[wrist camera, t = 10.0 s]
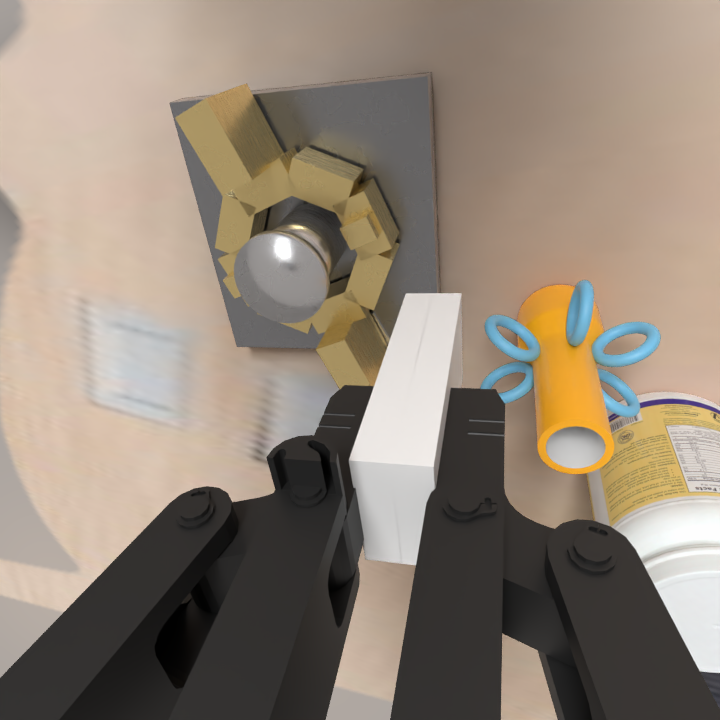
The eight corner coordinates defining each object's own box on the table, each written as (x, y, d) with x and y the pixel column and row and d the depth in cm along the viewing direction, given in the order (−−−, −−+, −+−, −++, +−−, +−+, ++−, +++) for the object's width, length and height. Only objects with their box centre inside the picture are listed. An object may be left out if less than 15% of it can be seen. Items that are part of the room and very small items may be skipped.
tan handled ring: (165, 134, 39) (117, 154, 34) (309, 43, 34) (275, 53, 29) (315, 374, 48) (293, 418, 43) (447, 333, 43) (439, 377, 38)
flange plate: (183, 98, 40) (101, 125, 32) (431, 72, 35) (408, 96, 27) (245, 335, 50) (196, 399, 43) (442, 338, 46) (427, 411, 38)
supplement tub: (710, 502, 49) (787, 699, 36) (568, 480, 51) (589, 658, 38) (765, 394, 42) (886, 586, 29) (598, 375, 45) (637, 544, 31)
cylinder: (510, 392, 47) (510, 530, 35) (456, 294, 43) (434, 412, 31) (662, 343, 42) (723, 487, 30) (615, 225, 38) (664, 337, 26)
